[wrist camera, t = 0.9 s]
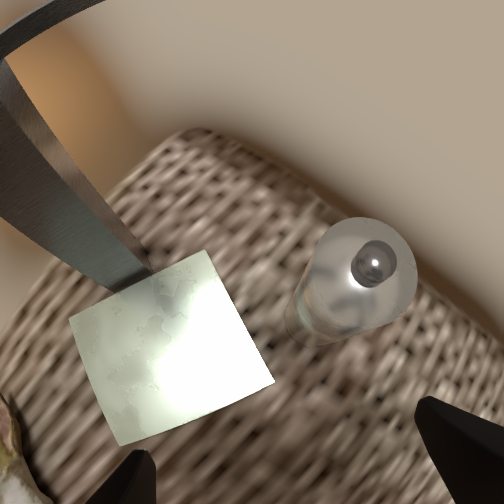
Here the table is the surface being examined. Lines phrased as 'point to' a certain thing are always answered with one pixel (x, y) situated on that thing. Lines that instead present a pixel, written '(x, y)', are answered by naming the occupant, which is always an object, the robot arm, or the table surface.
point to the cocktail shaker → (352, 283)
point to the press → (120, 276)
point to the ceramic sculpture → (15, 464)
